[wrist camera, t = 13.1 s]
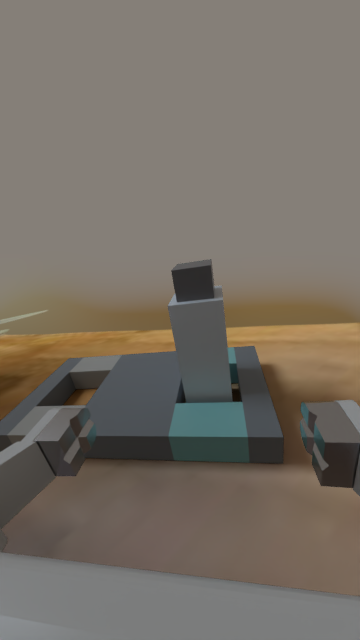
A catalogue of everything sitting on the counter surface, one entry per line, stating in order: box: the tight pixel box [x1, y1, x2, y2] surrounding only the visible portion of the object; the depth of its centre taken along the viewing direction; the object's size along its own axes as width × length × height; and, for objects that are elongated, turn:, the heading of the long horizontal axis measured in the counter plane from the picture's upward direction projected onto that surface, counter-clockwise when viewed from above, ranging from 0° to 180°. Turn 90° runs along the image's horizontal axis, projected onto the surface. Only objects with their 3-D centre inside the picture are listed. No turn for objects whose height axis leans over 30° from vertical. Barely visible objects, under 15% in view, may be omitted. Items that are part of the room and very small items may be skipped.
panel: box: [0, 346, 284, 463], centre depth 23 cm, size 24×12×2 cm, turn 82°
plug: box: [168, 259, 233, 403], centre depth 19 cm, size 4×4×13 cm
